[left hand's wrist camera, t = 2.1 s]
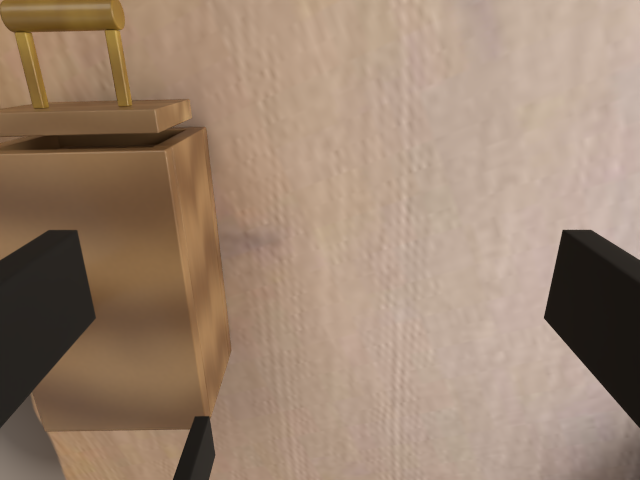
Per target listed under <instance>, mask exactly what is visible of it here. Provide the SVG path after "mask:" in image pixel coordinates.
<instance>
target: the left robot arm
mask: <svg viewBox="0 0 640 480" xmlns="http://www.w3.org/2000/svg"><path fill="white" fill-rule="evenodd" d="M95 319H96V315H95V311H94V306H93V301H92V297H91V292H90V287H89V283H88V278H87V273H86V269H85V264H84V259H83V255H82V250H81V245H80V240H79V236H78V231H77V230H48V231H46V232H45V233H43V234H42V235H40V236H38V237H37V238H35V239H33V240H32V241H30V242H29V243H27V244H25V245H24V246H22V247H21V248H19V249H17V250H16V251H14V252H13V253H11V254H9V255H8V256H6V257H5V258H3V259H1V260H0V428H1V427H2V425H3V424H4V423H5V422H6V421H7V420H8V419H9V417H10V416H11V415H12V414H13V413H14V412H15V411H16V409H17V408H18V407H19V406H20V405H21V404H22V403H23V401H24V400H25V399H26V398H27V397H28V396H29V394H30V393H31V392H32V391H33V390H34V389H35V388H36V386H37V385H38V384H39V383H40V382H41V381H42V380H43V378H44V377H45V376H46V375H47V374H48V373H49V372H50V370H51V369H52V368H53V367H54V366H55V365H56V364H57V362H58V361H59V360H60V359H61V358H62V357H63V355H64V354H65V353H66V352H67V351H68V350H69V349H70V347H71V346H72V345H73V344H74V343H75V342H76V341H77V339H78V338H79V337H80V336H81V335H82V334H83V333H84V331H85V330H86V329H87V328H88V327H89V326H90V324H91V323H92V322H93V321H94V320H95ZM544 319H545V320H546V321H547V322H548V323H549V324H550V326H551V327H552V328H553V329H554V330H555V331H556V333H557V334H558V335H559V336H560V337H561V338H562V339H563V341H564V342H565V343H566V344H567V345H568V346H569V347H570V349H571V350H572V351H573V352H574V353H575V354H576V355H577V357H578V358H579V359H580V360H581V361H582V362H583V364H584V365H585V366H586V367H587V368H588V369H589V370H590V372H591V373H592V374H593V375H594V376H595V377H596V378H597V380H598V381H599V382H600V383H601V384H602V385H603V386H604V388H605V389H606V390H607V391H608V392H609V393H610V394H611V396H612V397H613V398H614V399H615V400H616V401H617V403H618V404H619V405H620V406H621V407H622V408H623V409H624V411H625V412H626V413H627V414H628V415H629V416H630V417H631V419H632V420H633V421H634V422H635V423H636V424H637V425H638V427H639V428H640V260H639V259H637V258H635V257H634V256H632V255H631V254H629V253H627V252H626V251H624V250H623V249H621V248H619V247H618V246H616V245H615V244H613V243H611V242H610V241H608V240H606V239H605V238H603V237H602V236H600V235H598V234H597V233H595V232H594V231H592V230H563V231H562V236H561V240H560V245H559V250H558V255H557V259H556V264H555V269H554V273H553V278H552V283H551V287H550V292H549V297H548V301H547V306H546V311H545V315H544Z"/></svg>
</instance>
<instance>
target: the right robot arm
mask: <svg viewBox="0 0 640 480" xmlns="http://www.w3.org/2000/svg"><path fill="white" fill-rule="evenodd" d="M214 458H215V450H214V443H213V437H212V430H211V423H210V417H209V416H195V417H194V420H193V423H192V426H191V429H190V432H189V435H188V438H187V440H186V443H185V446H184V449H183V452H182V455H181V458H180V461H179V464H178V466H177V469H176V472H175V475H174V478H173V480H209V477H210V473H211V469H212V465H213V462H214Z"/></svg>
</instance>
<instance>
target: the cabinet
mask: <svg viewBox="0 0 640 480" xmlns="http://www.w3.org/2000/svg"><path fill="white" fill-rule="evenodd" d="M157 144H158V145H157ZM112 145H156V146H154V147H143V148H98V149H59V148H62V147H67V146H112ZM48 230H77V231H78V236H79V240H80V245H81V250H82V255H83V259H84V264H85V269H86V273H87V278H88V283H89V287H90V292H91V297H92V301H93V306H94V311H95V315H96V319H95V320H94V321H93V322H92V323H91V324H90V326H89V327H88V328H87V329H86V330H85V331H84V333H83V334H82V335H81V336H80V337H79V338H78V339H77V341H76V342H75V343H74V344H73V345H72V346H71V347H70V349H69V350H68V351H67V352H66V353H65V354H64V355H63V357H62V358H61V359H60V360H59V361H58V362H57V364H56V365H55V366H54V367H53V368H52V369H51V370H50V372H49V373H48V374H47V375H46V376H45V377H44V378H43V380H42V381H41V382H40V383H39V384H38V385H37V386H36V388H35V389H34V390H33V391H32V393H33V396H34V399H35V402H36V405H37V408H38V411H39V415H40V418H41V421H42V424H43V427H44V430H45V431H46V432H48V431H110V430H172V429H191V426H192V423H193V420H194V417H195V416H209V417H210V418H211V415H212V412H213V409H214V405H215V402H216V399H217V396H218V392H219V389H220V386H221V383H222V379H223V376H224V373H225V370H226V366H227V363H228V360H229V356H230V353H231V343H230V334H229V325H228V317H227V308H226V299H225V290H224V282H223V273H222V264H221V255H220V246H219V238H218V229H217V220H216V211H215V203H214V194H213V185H212V176H211V167H210V159H209V150H208V141H207V132H206V127H187V128H168V129H166V130H164V131H162V132H159V133H144V134H99V135H54V136H27V137H23V138H19V139H15V140H11V141H8V142H4V143H0V260H1V259H3V258H5V257H6V256H8V255H9V254H11V253H13V252H14V251H16V250H17V249H19V248H21V247H22V246H24V245H25V244H27V243H29V242H30V241H32V240H33V239H35V238H37V237H38V236H40V235H42V234H43V233H45V232H46V231H48Z"/></svg>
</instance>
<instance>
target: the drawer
mask: <svg viewBox="0 0 640 480" xmlns="http://www.w3.org/2000/svg"><path fill="white" fill-rule="evenodd" d="M0 14H1V18H2V20H3V22H4V24H5V26H6V27H7V28H8V29H9V30H10V31H12V32H15V37H16V41H17V45H18V49H19V53H20V57H21V61H22V65H23V69H24V73H25V77H26V81H27V85H28V89H29V93H30V97H31V101H32V104H31V105H24V106H17V107H11V108H4V109H0V137H10V136H54V135H99V134H144V133H159V132H162V131H164V130H166V129H168V128H171V127H173V126H175V125H177V124H180V123H182V122H184V121H186V120H189V119H191V118H192V115H191V107H190V100H189V99H178V100H134V101H132V100H131V94H130V88H129V83H128V77H127V71H126V65H125V59H124V53H123V47H122V41H121V36H120V31H118V30H122V29H123V28H124V25H125V18H124V12H123V8H122V6H121V3H120V2H119V0H4V1H2V2H1V4H0ZM100 30H105V36H106V41H107V47H108V52H109V58H110V63H111V69H112V74H113V80H114V85H115V91H116V96H117V101H91V102H48V100H47V96H46V92H45V87H44V83H43V79H42V75H41V70H40V66H39V62H38V58H37V54H36V49H35V45H34V41H33V37H32V33H30V32H60V31H100ZM157 145H158V144H157ZM154 146H156V145H112V146H67V147H62V148H59V149H98V148H143V147H154Z"/></svg>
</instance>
